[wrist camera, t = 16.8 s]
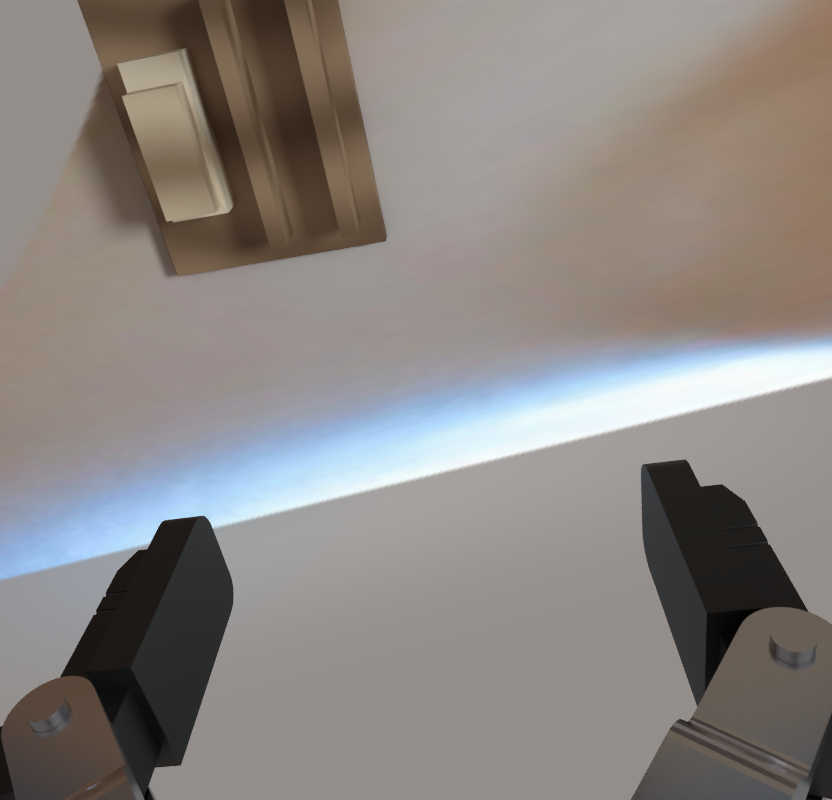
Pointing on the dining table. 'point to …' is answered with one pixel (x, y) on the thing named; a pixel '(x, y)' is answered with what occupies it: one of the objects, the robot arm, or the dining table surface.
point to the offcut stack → (176, 135)
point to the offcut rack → (257, 123)
